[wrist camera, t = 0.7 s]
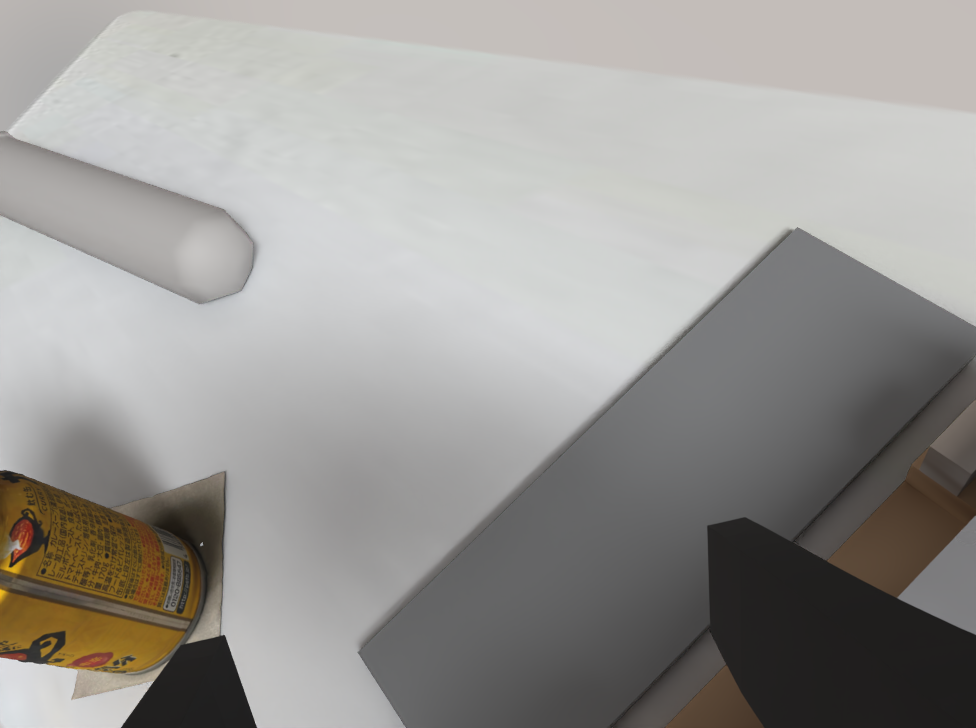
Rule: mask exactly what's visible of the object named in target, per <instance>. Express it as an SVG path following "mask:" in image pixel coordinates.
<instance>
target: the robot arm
mask: <svg viewBox="0 0 976 728" xmlns="http://www.w3.org/2000/svg"><path fill="white" fill-rule="evenodd" d="M707 537H708V571H709V605H710V632H711V634H712V636H713V638H714V640H715V642H716V644H717V646H718V648H719V650H720V652H721V654H722V656H723V658H724V660H725V663H726V665H727V666H728V668H729V670H730V672H731V674H732V676H733V678H734V680H735V682H736V684H737V685H738V687H739V689H740V691H741V693H742V695H743V696H744V698H745V699H746V701H747V702H748V704H749V705H750V707H751V708H752V710H753V711H754V713H755V714H756V716H757V717H758V719H759V720H760V722H761V724H762V725H763V727H764V728H976V635H975V634H973V633H971V632H968V631H966V630H964V629H961V628H959V627H957V626H955V625H953V624H951V623H948V622H946V621H944V620H942V619H940V618H938V617H936V616H933V615H931V614H929V613H927V612H925V611H923V610H921V609H919V608H916V607H914V606H912V605H910V604H908V603H906V602H904V601H902V600H900V599H898V598H896V597H894V596H892V595H890V594H888V593H886V592H884V591H882V590H880V589H878V588H876V587H874V586H872V585H870V584H868V583H866V582H864V581H863V580H861V579H859V578H857V577H855V576H853V575H851V574H849V573H847V572H846V571H844V570H842V569H840V568H838V567H836V566H834V565H833V564H831V563H829V562H827V561H825V560H823V559H822V558H820V557H818V556H816V555H814V554H813V553H811V552H809V551H807V550H805V549H804V548H802V547H800V546H798V545H796V544H794V543H793V542H791V541H789V540H787V539H785V538H784V537H782V536H780V535H778V534H776V533H775V532H773V531H771V530H769V529H767V528H765V527H764V526H762V525H760V524H758V523H756V522H754V521H752V520H750V519H748V518H746V517H743V518H739V519H734V520H730V521H725V522H721V523H717V524H712V525H708V526H707ZM121 728H257V727H256V724H255V721H254V718H253V715H252V712H251V710H250V707H249V704H248V701H247V698H246V695H245V692H244V689H243V686H242V683H241V681H240V678H239V675H238V672H237V669H236V666H235V663H234V660H233V657H232V655H231V652H230V649H229V646H228V643H227V640H226V637H225V635H223V636H218V637H214V638H209V639H205V640H201V641H196V642H192V643H187V644H183V645H180V647H179V648H178V649H177V651H176V652H175V653H174V655H173V656H172V658H171V659H170V660H169V662H168V663H167V664H166V666H165V667H164V668H163V670H162V671H161V673H160V674H159V675H158V677H157V678H156V679H155V681H154V682H153V684H152V685H151V686H150V688H149V689H148V691H147V692H146V693H145V695H144V696H143V698H142V699H141V700H140V702H139V703H138V705H137V706H136V707H135V709H134V710H133V712H132V713H131V714H130V716H129V717H128V719H127V720H126V721H125V723H124V724H123V726H122V727H121Z"/></svg>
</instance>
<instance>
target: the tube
mask: <svg viewBox="0 0 976 728" xmlns="http://www.w3.org/2000/svg"><path fill="white" fill-rule="evenodd" d="M0 215H1V216H4V217H6V218H8V219H10V220H13V221H15V222H17V223H19V224H21V225H24V226H26V227H28V228H30V229H33V230H35V231H37V232H39V233H42V234H44V235H46V236H48V237H51V238H53V239H55V240H57V241H59V242H62V243H64V244H66V245H68V246H71V247H73V248H75V249H77V250H80V251H82V252H84V253H86V254H89V255H91V256H93V257H95V258H97V259H100V260H102V261H104V262H106V263H109V264H111V265H113V266H115V267H118V268H120V269H122V270H124V271H127V272H129V273H131V274H133V275H135V276H138V277H140V278H142V279H144V280H147V281H149V282H151V283H153V284H156V285H158V286H160V287H162V288H165V289H167V290H169V291H171V292H173V293H176V294H178V295H180V296H182V297H185V298H187V299H189V300H191V301H194V302H196V303H198V304H203V303H206V302H209V301H212V300H215V299H218V298H221V297H224V296H227V295H230V294H233V293H236V292H239V291H241V290H242V288H243V286H244V284H245V282H246V280H247V278H248V275H249V273H250V271H251V269H252V262H253V242H252V241H251V239H250V238H249V236H248V235H247V233H246V232H245V231H244V230H243V229H242V228H241V227H240V226H239V225H238V224H237V223H236V222H235V220H234V219H233V218H232V217H231V216H230V215H229V214H228V213H227V212H226V211H225V210H224V209H221V208H218V207H215V206H212V205H209V204H206V203H203V202H200V201H197V200H194V199H191V198H188V197H185V196H182V195H179V194H176V193H173V192H171V191H168V190H165V189H162V188H159V187H156V186H153V185H150V184H147V183H144V182H141V181H138V180H135V179H132V178H129V177H126V176H123V175H120V174H117V173H114V172H112V171H109V170H106V169H103V168H100V167H97V166H94V165H91V164H88V163H85V162H82V161H79V160H76V159H73V158H70V157H67V156H64V155H61V154H58V153H55V152H53V151H50V150H47V149H44V148H41V147H38V146H35V145H32V144H29V143H26V142H23V141H20V140H17V139H15V138H14V137H13V136H11V135H10V134H9V133H8V132H5V131H2V132H0Z"/></svg>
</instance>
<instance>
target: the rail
mask: <svg viewBox="0 0 976 728" xmlns="http://www.w3.org/2000/svg"><path fill="white" fill-rule="evenodd" d="M897 598H898V599H900V600H902V601H904V602H906V603H908V604H910V605H912V606H914V607H916V608H919V609H921V610H923V611H925V612H927V613H929V614H931V615H933V616H936V617H938V618H940V619H942V620H944V621H946V622H948V623H951V624H953V625H955V626H957V627H959V628H961V629H964V630H966V631H968V632H971V633H973V634H975V635H976V516H975V517H974V518H973V519H972V520H971V521H970V522H969V523H968V524H967V525H966V526H965V527H964V528H963V529H962V530H961V531H960V532H959V533H958V535H957V536H956V537H955V538H954V539H953V540H952V541H951V542H950V543H949V544H948V545H947V546H946V547H945V548H944V549H943V550H942V551H941V552H940V553H939V554H938V555H937V557H936V558H935V559H934V560H933V561H932V562H931V563H930V564H929V565H928V566H927V567H926V568H925V569H924V570H923V571H922V572H921V573H920V574H919V575H918V576H917V577H916V579H915V580H914V581H913V582H912V583H911V584H910V585H909V586H908V587H907V588H906V589H905V590H904V591H903V592H902V593H901V594H900V595H899V596H898V597H897Z"/></svg>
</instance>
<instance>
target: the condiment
mask: <svg viewBox="0 0 976 728" xmlns="http://www.w3.org/2000/svg"><path fill="white" fill-rule="evenodd" d="M224 478H225V472H222V473H220V474H217V475H213V476H211V477H209V478H207V479H204V480H200V481H198V482H195V483H192V484H188V485H185V486H182V487H180V488H177V489H174V490H171V491H167V492H164V493H160V494H157V495H155V496H153V497H149V498H144V499H140V500H137V501H133V502H130V503H128V504H125V505H122V506H116V507H113V508H106V507H104V506H101V505H98V504H96V503H93V502H90V501H88V500H86V499H83V498H80V497H78V496H75V495H73V494H70V493H68V492H65V491H63V490H60V489H57V488H55V487H52V486H50V485H47V484H44V483H42V482H39V481H37V480H35V479H32V478H29V477H26V476H24V475H23V474H18V473H14V472H11V471H6V470H4V471H0V657H1V658H8V659H14V660H18V661H21V662H33V663H37V664H47V665H55V666H58V667H66V668H72V669H78V674H77V680H76V684H75V690H74V693H73V696H72V699H71V700H73V699H78V698H82V697H86V696H90V695H96V694H100V693H103V692H108V691H113V690H117V689H121V688H125V687H130V686H134V685H138V684H142V683H146V682H150V681H154V680H155V679H156V678H157V677H158V675H159V674H160V673H161V671H162V670H163V668H164V667H165V666H166V664H167V663H168V662H169V660H170V659H171V658H172V656H173V655H174V653H175V652H176V651H177V649H178V648H179V647H180V645H183V644H187V643H192V642H196V641H201V640H205V639H209V638H214V637H218V636H219V634H220V621H221V612H220V607H221V602H222V582H221V581H222V577H223V572H222V559H223V554H222V537H223V522H224V493H223V490H224ZM202 542H203V546H200V544H201V543H202Z"/></svg>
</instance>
